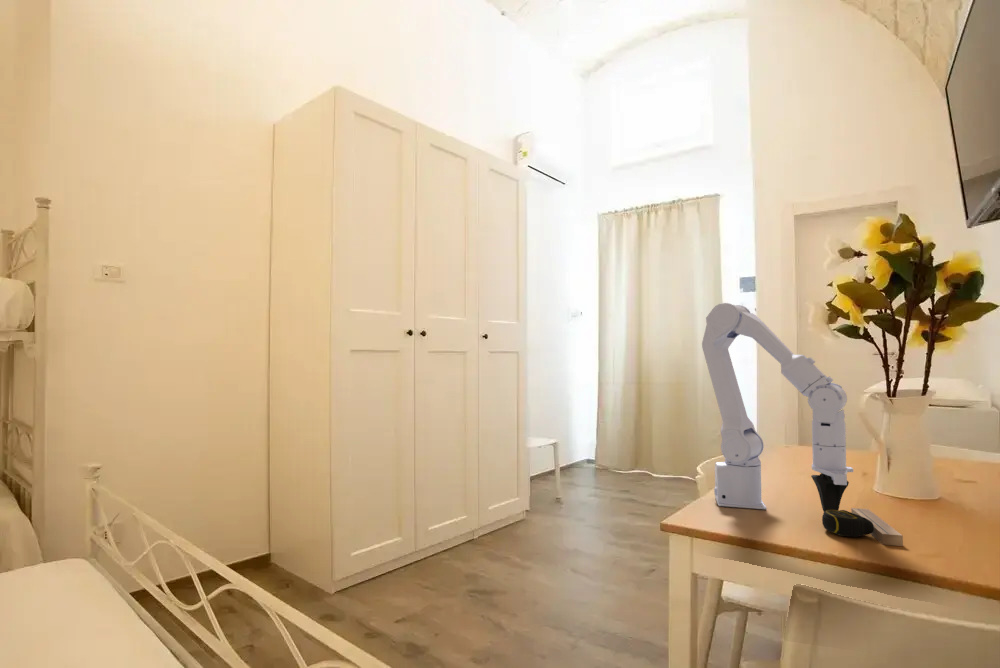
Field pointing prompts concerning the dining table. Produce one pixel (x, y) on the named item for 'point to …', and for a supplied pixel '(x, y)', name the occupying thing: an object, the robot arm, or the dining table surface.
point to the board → (880, 528)
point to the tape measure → (846, 523)
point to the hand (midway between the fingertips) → (830, 513)
